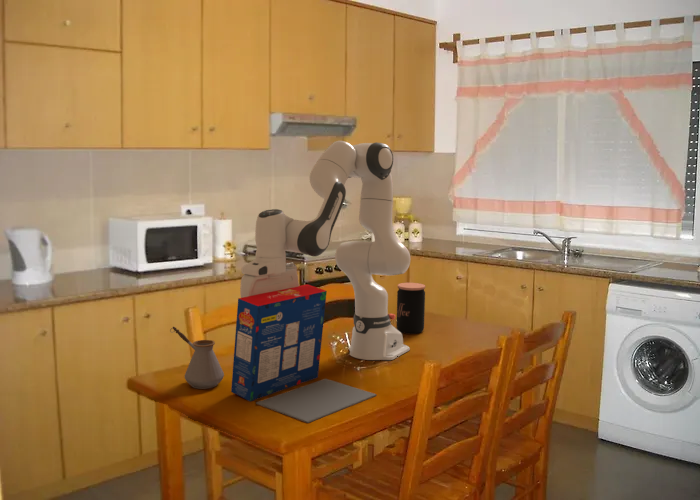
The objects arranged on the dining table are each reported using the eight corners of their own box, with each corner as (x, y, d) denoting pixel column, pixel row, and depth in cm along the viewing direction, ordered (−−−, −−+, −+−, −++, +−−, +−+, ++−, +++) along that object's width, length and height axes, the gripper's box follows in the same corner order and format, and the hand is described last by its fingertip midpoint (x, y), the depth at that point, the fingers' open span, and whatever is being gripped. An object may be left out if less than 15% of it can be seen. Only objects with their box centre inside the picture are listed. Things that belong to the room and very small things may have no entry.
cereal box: (299, 369, 226) (307, 284, 220) (317, 377, 221) (326, 290, 215) (231, 391, 205) (238, 298, 199) (250, 401, 200) (257, 306, 194)
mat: (325, 379, 219) (325, 378, 219) (376, 395, 206) (376, 394, 206) (256, 403, 198) (256, 402, 198) (307, 423, 185) (307, 421, 185)
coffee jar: (392, 328, 281) (393, 283, 279) (417, 326, 284) (418, 282, 282) (402, 335, 271) (403, 288, 269) (428, 333, 274) (429, 287, 272)
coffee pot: (232, 384, 214) (231, 335, 211) (200, 394, 205) (199, 343, 203) (188, 368, 228) (187, 322, 225) (157, 377, 219) (156, 329, 217)
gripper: (288, 260, 219) (288, 304, 221) (236, 268, 204) (237, 315, 206) (303, 262, 215) (303, 307, 217) (251, 271, 200) (251, 319, 202)
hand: (270, 311), depth 211 cm, fingers closed
